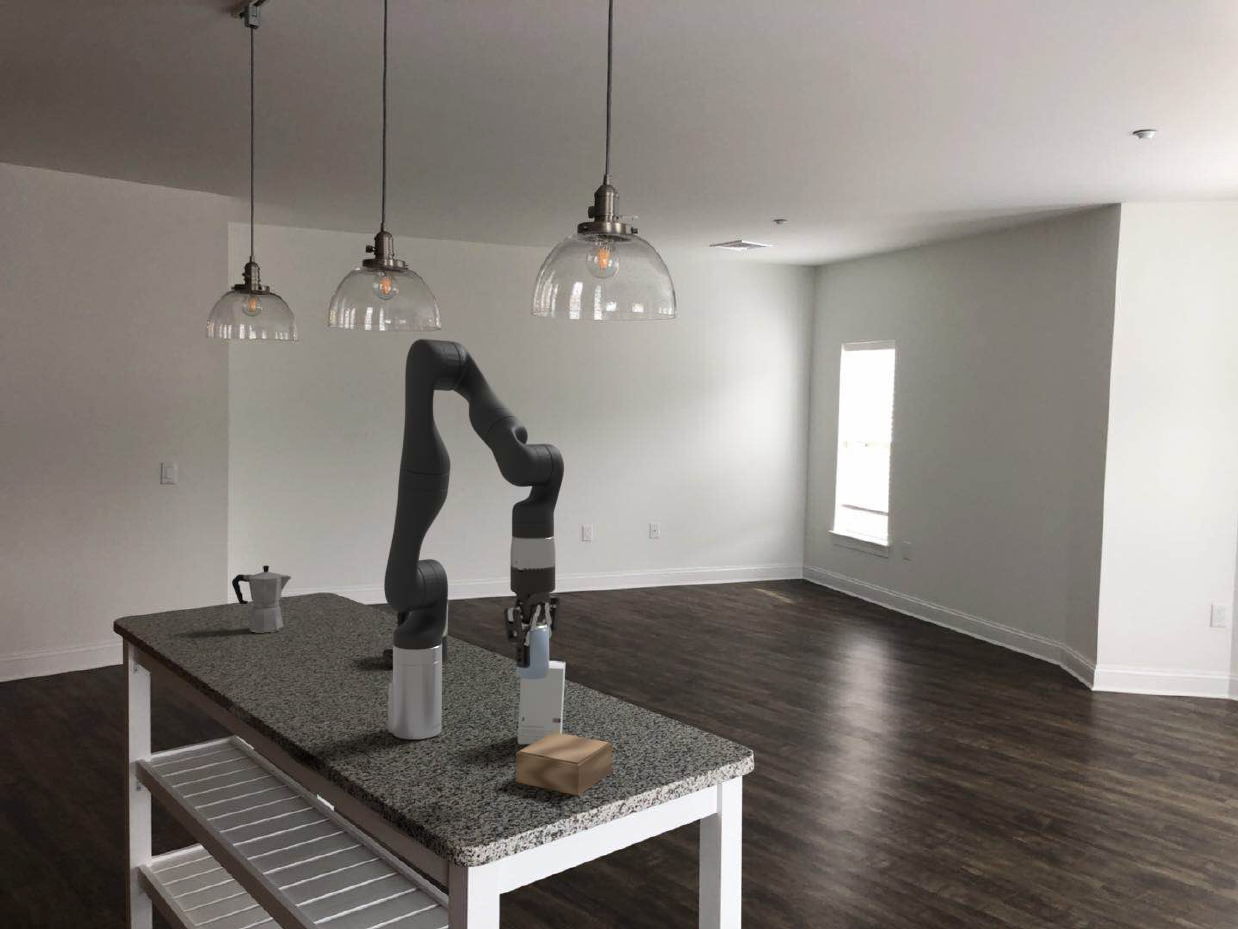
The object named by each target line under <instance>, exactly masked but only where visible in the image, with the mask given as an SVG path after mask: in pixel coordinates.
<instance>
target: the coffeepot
mask: <svg viewBox="0 0 1238 929" xmlns="http://www.w3.org/2000/svg"><path fill="white" fill-rule="evenodd" d="M269 569H270V566H269V565H263V566H262V570H263V571H262V572H259V573H255V574H237V575H236V576H235V577H234V578H233V579H232V581H231V585H232V588H233V590H234V592H235V595H236V598H237V601H238V603H239V604H240V605H248V602H249V601H248V600H244V598H243V596H244V595H243V593H242V591H241V585H240V583H239V582H244V583H245V582H246V583H248V584H249V586H248V587H249V590H250V592H249V593H250V597H251V601H253V603H252V604H253V607H251V612H250V618H249V623H248V628H250V629H251V630H256V631H268V630H276V629H279V628H281V627H284V622H283V616H282V611H281V606H280V602H279V601H280V600H281V598H282V592H283V590H284V588H285V587H286V585H287V583H288V582H289V580H291V579H292V577H291V576H290V575H286V574H281V573H276V572H271V571H270V570H269Z"/></svg>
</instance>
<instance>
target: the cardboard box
mask: <svg viewBox="0 0 1238 929" xmlns="http://www.w3.org/2000/svg"><path fill="white" fill-rule="evenodd" d="M612 767H613V743H612V742H611V743H610V742H609V741H604V740H598V739H592V738H587V737H583V736H576V735H571V734H566V733H562V734H561V733H556V732H552V733H550V734H548V735H547V736H545V737H543V738H541V739H540V740H538V741H536V742H534V743H533V744H528V745H527V746H526V747H523V748H522V749H520V750H518V751H517V752H516V753H515V783H519V784H522V785H527V786H528V785H529V786H531V787H532V786H533V787H537V788H542V789H546V790H550V791H554V792H555V791H556V792H559V793H564V794H569V795H574V796H580V795H581V794H582V793H584V792H585V791H587V790H588V789H590V788H591V787H592V786H594V785H596V784H597V783H598V782H599V781H602V779H604V778H605V777H607V776H608V775H610V774H611V773H612V772H613V768H612Z"/></svg>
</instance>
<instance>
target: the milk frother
mask: <svg viewBox="0 0 1238 929" xmlns="http://www.w3.org/2000/svg"><path fill="white" fill-rule="evenodd" d="M449 603H450V599H448V601H447V617H446V627H445V631H444V633H443V636H442V662H445V661H447V660H449V655H448V625H449V624H448V623H449V622H448V620H449V616H448V615H449ZM410 612H411V613H412V612H413V610H412V611H405V612H397V614H396V621H397V622H396V623H397V627H399V626H400V625H402V624H403V623H404V622H405V621H406V620H407V619H408V618H409V617H410ZM382 657H383V659H384V660H385V662H387V663H389V664H390V665H393V648H388V649H387V648H386V649H384V650H383V651H382Z"/></svg>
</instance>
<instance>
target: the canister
mask: <svg viewBox="0 0 1238 929" xmlns="http://www.w3.org/2000/svg"><path fill="white" fill-rule="evenodd" d="M522 626H528V625H526V624H523V623H522ZM524 636H525V631H523V638H524ZM529 645H530V666H529V667H528V668H520V667H517V666H516V676H517V677H518V678H520V679H521V678H524V679H540V678H545V677H547V676H549V661H550V638H549V627H548V626H547V624H542V623H537V624H536V627H535V631H534V632H532V633H531V638H530V643H529Z"/></svg>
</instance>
